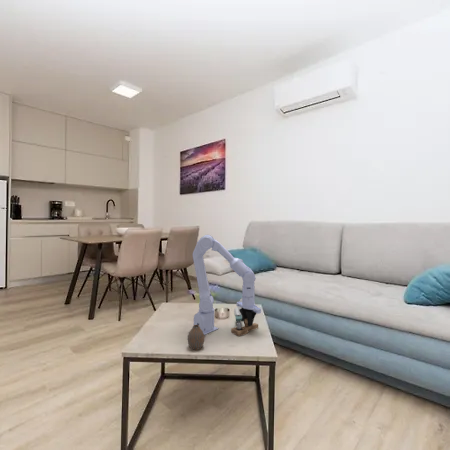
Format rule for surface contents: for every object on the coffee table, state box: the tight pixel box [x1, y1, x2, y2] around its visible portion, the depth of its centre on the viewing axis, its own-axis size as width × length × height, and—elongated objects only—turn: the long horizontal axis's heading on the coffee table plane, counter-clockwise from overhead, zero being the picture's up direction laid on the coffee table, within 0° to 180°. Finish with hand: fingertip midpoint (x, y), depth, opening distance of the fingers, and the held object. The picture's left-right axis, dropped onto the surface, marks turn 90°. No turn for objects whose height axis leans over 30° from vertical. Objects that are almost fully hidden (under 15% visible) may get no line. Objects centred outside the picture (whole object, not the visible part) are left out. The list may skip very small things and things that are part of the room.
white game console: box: [233, 297, 243, 320], centre depth 153 cm, size 17×5×10 cm, turn 2°
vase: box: [187, 324, 206, 350], centre depth 115 cm, size 7×7×9 cm
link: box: [230, 318, 259, 337], centre depth 133 cm, size 14×5×5 cm, turn 129°
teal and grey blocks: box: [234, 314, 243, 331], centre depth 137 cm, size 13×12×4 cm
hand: (248, 324), depth 133 cm, fingers closed on link, 2 cm apart
